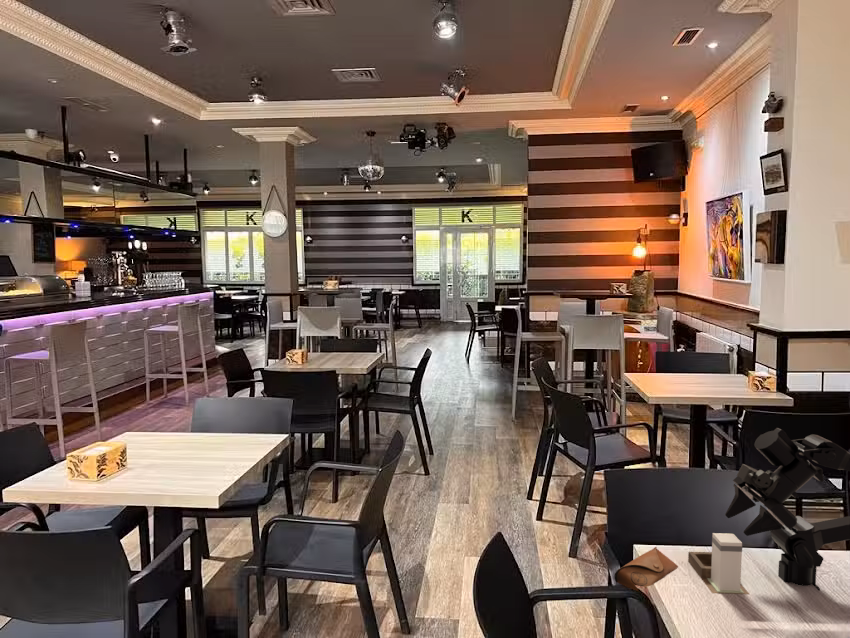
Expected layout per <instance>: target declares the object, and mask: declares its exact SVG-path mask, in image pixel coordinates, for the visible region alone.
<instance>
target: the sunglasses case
mask: <svg viewBox="0 0 850 638" xmlns="http://www.w3.org/2000/svg"><path fill="white" fill-rule="evenodd" d="M657 547H658V546H655V547H653V548H652V549H651V550H649V551H647V552H645V553H643V554H641V555H639V556H638V557H636V558H635V559H633V560H631V561H629V562H628V563H626V564H625V565H623V566H622V567H620V568H618V569H617V570H616V571H615V572H614V580H615V583H618V584H620V585H622V586H624V587H626V588H629V589H631V590H634V591H636V592H639V589H638V588H637V587H644V588H645V587H650V586H653V585H654V584H656V583H658V582H659V581H660V580H662V579H663V578H664V577H667V576H668V575H669V574H671V573H673V572H674V571H675V570H677V569H679V566H678V565H677V564H676V563H675V562H674V561H673V560H671V559H670V558H669V557H668V556H666V554H664V553H662V551H660V550H659V549H658V548H657Z"/></svg>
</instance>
